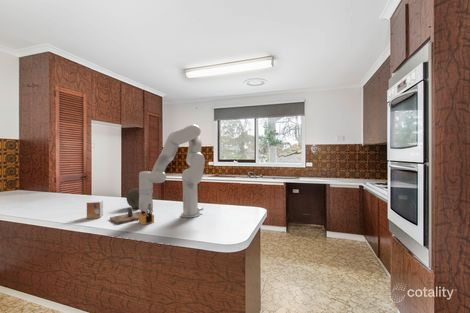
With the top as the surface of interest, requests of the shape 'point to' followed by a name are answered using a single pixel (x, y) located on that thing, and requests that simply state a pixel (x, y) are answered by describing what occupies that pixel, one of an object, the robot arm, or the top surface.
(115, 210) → the top surface
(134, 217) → the board
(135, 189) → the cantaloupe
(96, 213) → the small box
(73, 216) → the top surface
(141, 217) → the orange square ring
